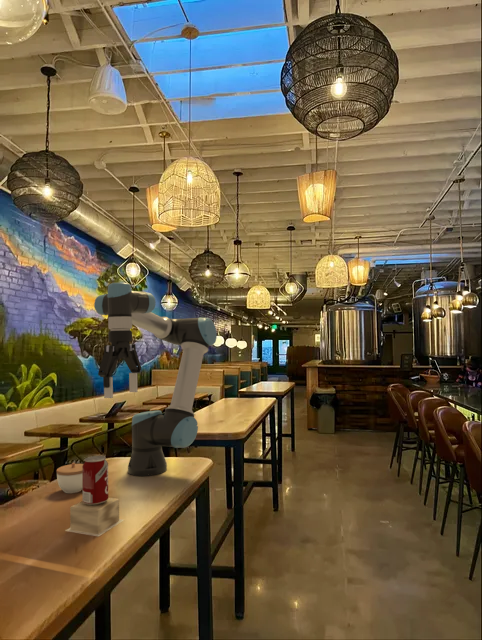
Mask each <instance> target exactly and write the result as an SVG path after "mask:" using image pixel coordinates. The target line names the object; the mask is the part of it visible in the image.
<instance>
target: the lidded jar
mask: <svg viewBox="0 0 482 640" xmlns="http://www.w3.org/2000/svg"><path fill="white" fill-rule="evenodd" d="M83 464H84V463H76V462H72V463H70V464H67V465H66V464H65V465H62V466H60V467H58V468H57V469H56V478H57V479H56V480H57V484H58V487H59V488H60V489H61V490H62V491H63V493H65V494H77V493H79V492H81V490H82V491H83V489H82V466H83Z"/></svg>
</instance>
